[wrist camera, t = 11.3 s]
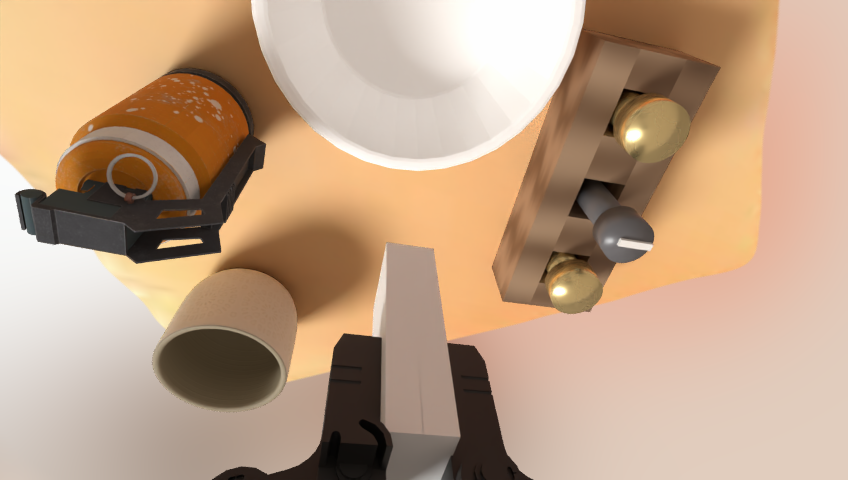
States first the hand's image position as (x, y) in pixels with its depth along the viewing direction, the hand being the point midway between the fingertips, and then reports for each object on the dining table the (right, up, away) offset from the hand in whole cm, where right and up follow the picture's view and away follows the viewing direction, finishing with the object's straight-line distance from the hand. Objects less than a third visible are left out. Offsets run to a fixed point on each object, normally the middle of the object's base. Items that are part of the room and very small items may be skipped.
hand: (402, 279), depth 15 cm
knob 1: (+14, +1, +36) cm, 39 cm away
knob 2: (+18, +14, +28) cm, 36 cm away
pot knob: (+16, +6, +29) cm, 34 cm away
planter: (-20, -5, +39) cm, 44 cm away
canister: (-18, +12, +27) cm, 35 cm away
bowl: (0, +21, +23) cm, 31 cm away
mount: (+16, +8, +32) cm, 37 cm away
